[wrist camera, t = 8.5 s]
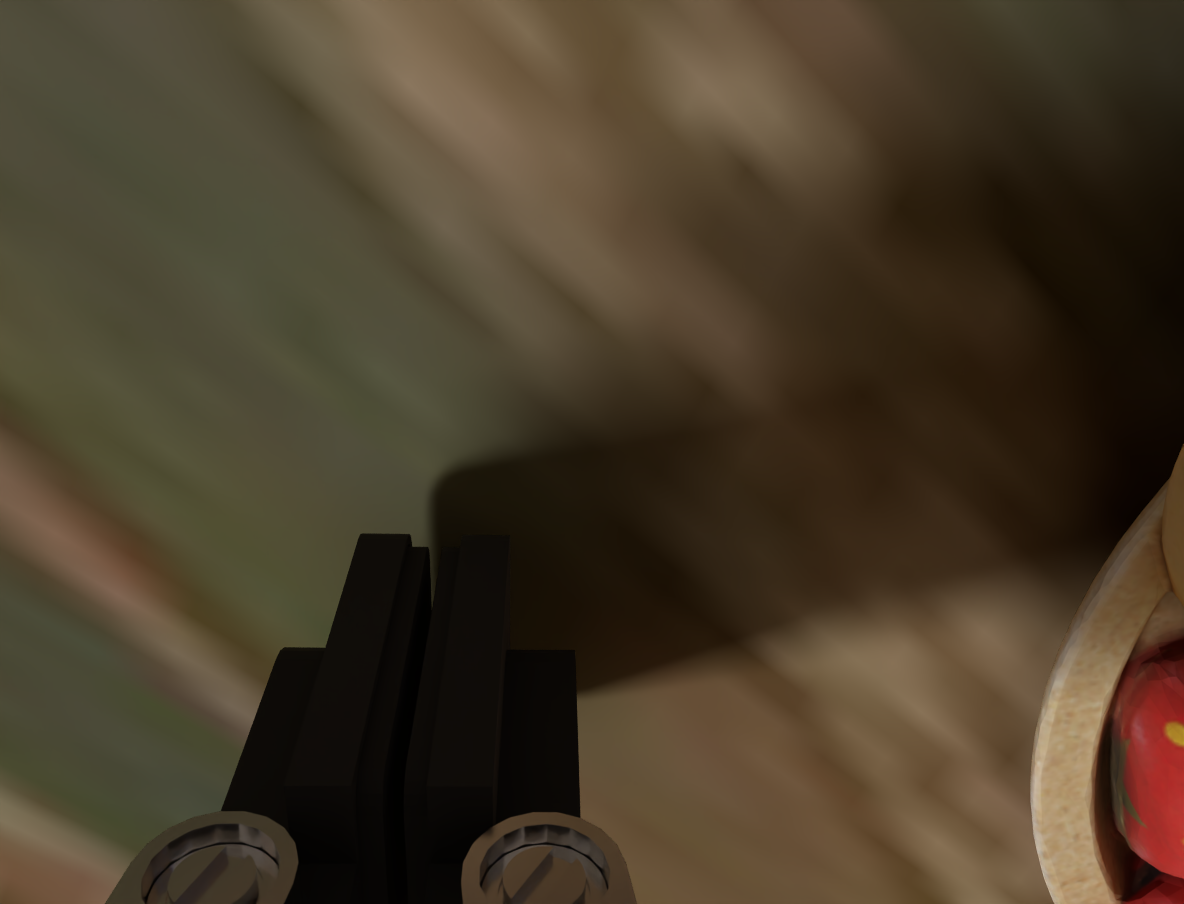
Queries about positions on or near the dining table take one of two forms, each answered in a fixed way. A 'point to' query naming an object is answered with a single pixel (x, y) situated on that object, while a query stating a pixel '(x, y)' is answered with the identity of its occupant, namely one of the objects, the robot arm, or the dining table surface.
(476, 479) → the dining table surface
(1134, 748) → the toy food set
